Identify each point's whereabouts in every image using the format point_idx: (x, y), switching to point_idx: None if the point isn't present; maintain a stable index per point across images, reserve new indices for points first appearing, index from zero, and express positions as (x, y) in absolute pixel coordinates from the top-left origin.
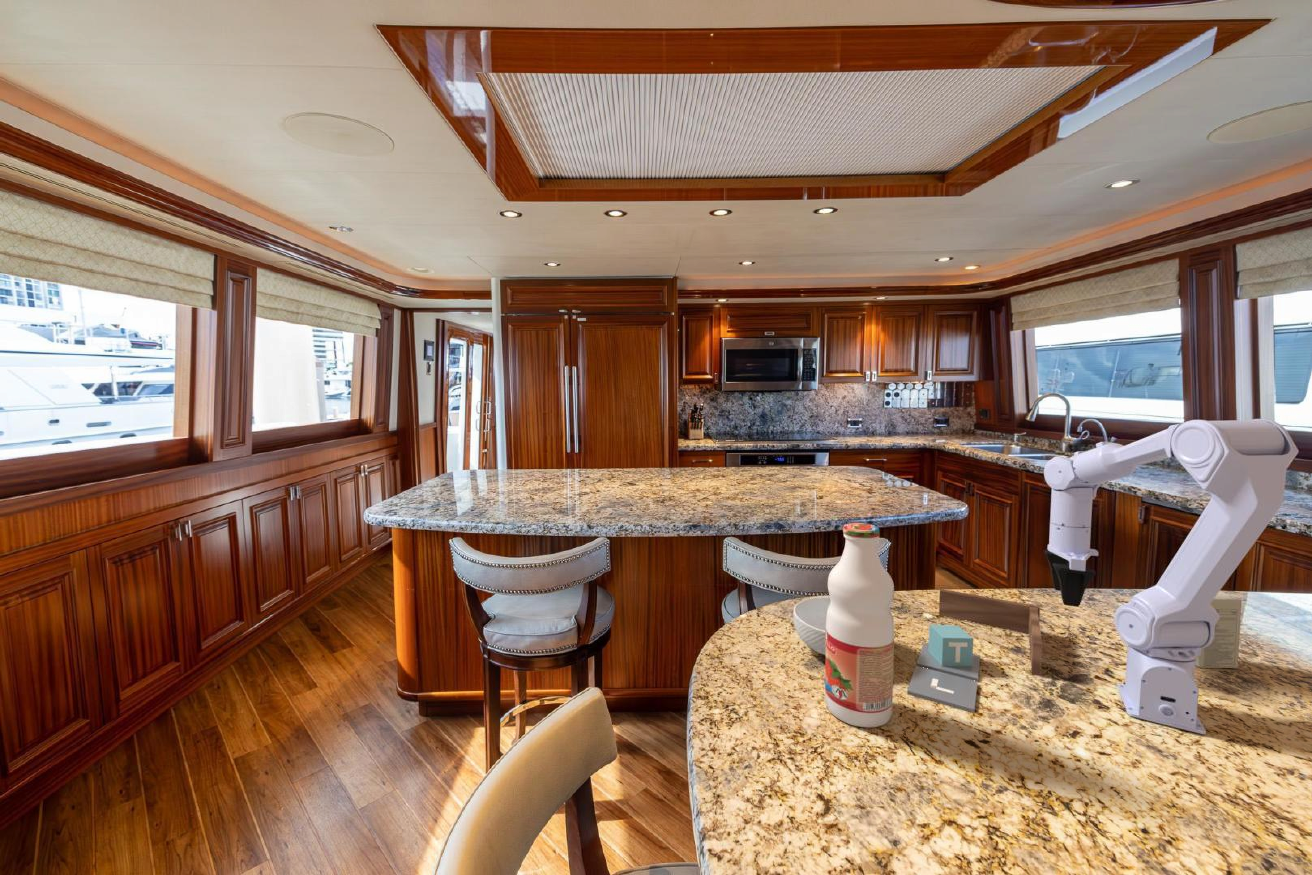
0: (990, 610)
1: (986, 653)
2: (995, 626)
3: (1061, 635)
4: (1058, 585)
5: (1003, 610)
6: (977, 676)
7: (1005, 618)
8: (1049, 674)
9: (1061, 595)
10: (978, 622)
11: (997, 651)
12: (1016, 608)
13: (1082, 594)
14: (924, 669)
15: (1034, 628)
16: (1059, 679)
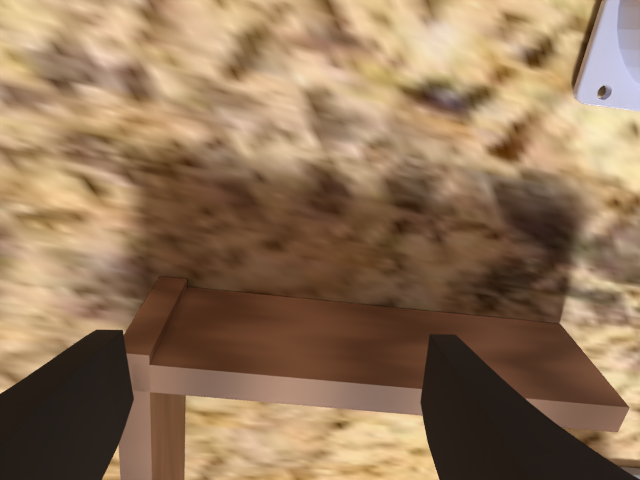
0: (166, 468)
1: None
2: (183, 403)
3: (121, 193)
4: (119, 416)
5: (164, 441)
6: (635, 476)
7: (174, 408)
8: (535, 297)
9: (433, 458)
10: (183, 448)
11: None
12: (158, 419)
13: (515, 395)
14: None
15: None
16: (565, 275)
